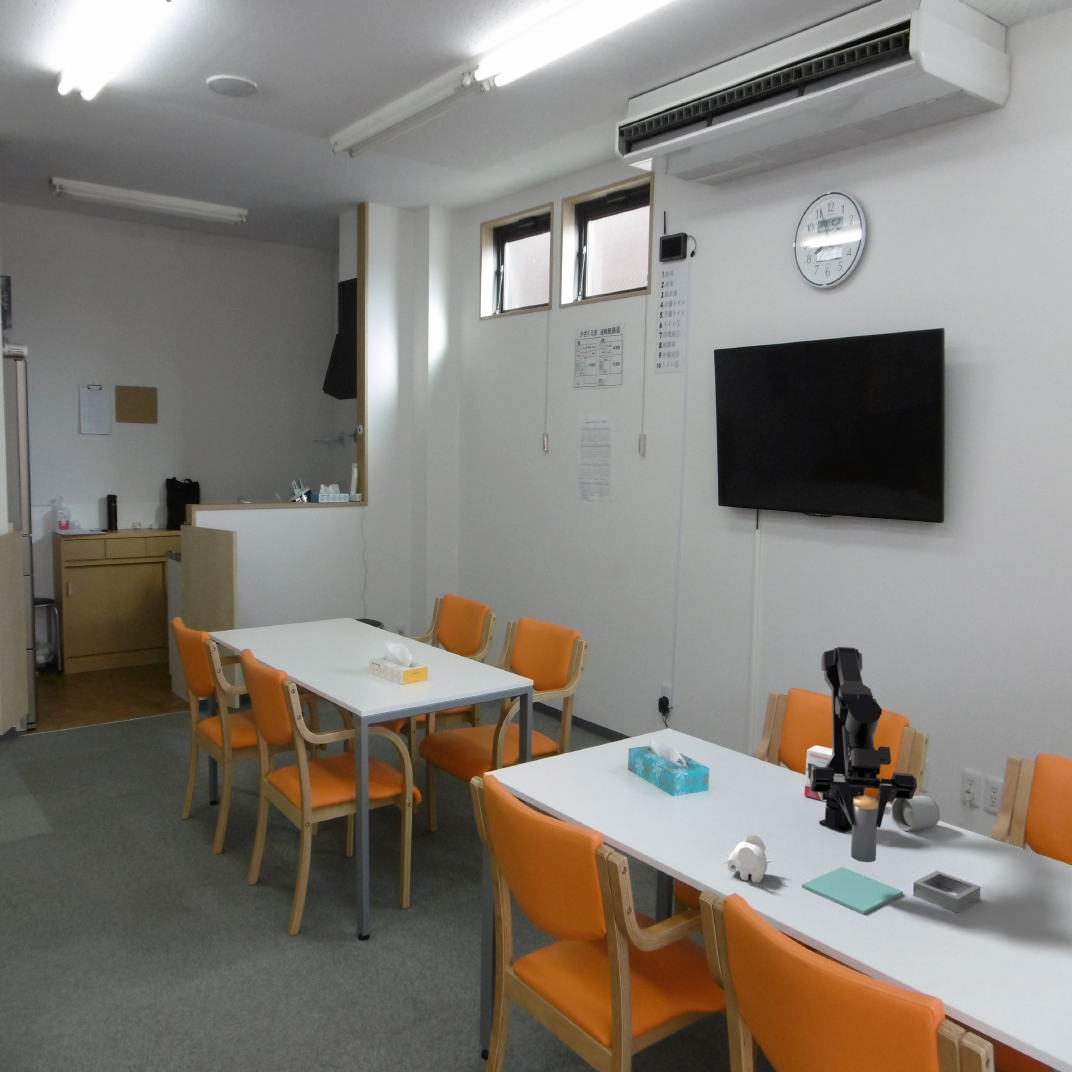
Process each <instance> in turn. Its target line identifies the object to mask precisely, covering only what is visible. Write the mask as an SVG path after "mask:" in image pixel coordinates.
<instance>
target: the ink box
mask: <svg viewBox="0 0 1072 1072" xmlns="http://www.w3.org/2000/svg"><path fill="white" fill-rule="evenodd" d="M831 756H832V748H829V747H826V746H822V745H821V746H820V745H814V746H812V747H809V748H808V749H807V750H806V761H805V763H806V765H805V779H804V793H803V794H804V796H805V797H806V798H811V799H815V800H820V801H822V802H826V800H822V797H821V794H820V792H812V791H811V790H810V778H811V773H812V769H813V768H814V767H825V766H826V764H827V763H828V761H829V759H830V758H831Z"/></svg>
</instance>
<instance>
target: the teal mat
mask: <svg viewBox="0 0 1072 1072" xmlns="http://www.w3.org/2000/svg"><path fill="white" fill-rule="evenodd" d="M801 888H802V889H804V890H807V891H809V892H811V893H813V894H816V895H818V896H821V897H822V898H825V899H828V900H830V901H833V902H834V903H837V904H839V905H841V906H843V907H845V908H848V909H850V910H852V911H855V912H857V913H859V914H861V915H865V914H867V913H869V912H872V911H874V910H875V909H877V908H880V907H881V906H882V905H885V904H887V903H889V902H890V901H893V900H895V899H897V898H899V897H900V896H903V894H904V890H901V889H898V888H896V887H893V886H891V885H889V884H885V883H884V882H881V881H878V880H876V879H874V878H870V877H869V876H866V875H863V874H861V873H859V872H856V871H854V870H851V869H849V868H846V867H844V866H841V867H838V868H836V869H834V870H831V871H830V872H827V873H825V874H822V875H820V876H818V877H815V878H813V879H811V880H808V881H807V882H804V883H802V885H801Z"/></svg>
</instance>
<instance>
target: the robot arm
mask: <svg viewBox="0 0 1072 1072" xmlns="http://www.w3.org/2000/svg"><path fill="white" fill-rule="evenodd" d="M820 664H821V665H820V666H821V671H823V672H824V673H823V676H824V680H825V682H826V684H827V686H828V687H829V688H830V691H831V749H832V756H831V758H830V759H829V761H828V763H827V764H826V766H825V767H814V768H813V769H812V773H811V778H810V790H811V791H812V792H820V794H821V797H822V800H826V801H825V807H824V808H825V809H824V810H825V811H824V816H825V817H824V819H821V820H819V823H818V824H819V825H821V826H825V827H827V828H830V829H833V830H836V831H838V832H841V833H847V832H849V831H852V826H853V825H854V816H853V798H854V797H855V796H865V790H866V789H876V790H878V794H877V797H876V799H877V800H878V822H877V829H880V828H881V826H882V822H883V819H884V815H885V810H886V806H887V804H888V803H893V801H894V800H895V799H907V800H909V799H912V798H913V796H915V793H916V790H917V788H918V783H917V778H916V777H915V776H914V775H913V774H912V773H904V772H902V773H901V772H893V773H892V776H891V778H881V777H880V778H878V776H879V775H881V774H880V773H881V767H882V765H883V766H889V765H890V764H891V762H892V756H891V748H890V746H879V747H878V748H877V749H876V747H875V740H874V735H875V734H876V732H877V730H878V729H877V728H878V726H879V721H880V720H881V719H880V718H881V716H882V714H883V709H882V707H881V706H880V705H879V703H878V702H877V699H876V698H874V696H873V693H872V689H871V688H870V687H868V686H866V685H865V684H864V683H863V679H862V673H861V672H862V671H863V653H861V652H859V649H858V648H855V647H848V646H847V647H844V646H837V647H834V648H833V649H830V650H827V651H826V650H825V651H824V652H822V655H821V662H820ZM822 800H821V801H822Z"/></svg>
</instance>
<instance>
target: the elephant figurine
mask: <svg viewBox="0 0 1072 1072" xmlns="http://www.w3.org/2000/svg"><path fill="white" fill-rule="evenodd" d="M765 853H766V845H765V843H764V842H763V840H762V839H761V837H759V836H758V835H757V834H751V835H747V837H746V838H745V839H744V841H740V842H738V844H737V846H736V847H735V848H734V849H733V851H732V852H731V853H730V854H728V855H726V856H725V858H728V859H727V860H725V861H723V862H721V865H725V864H726V866H727V869H728V871H729V872H735V871H736V869H737V870H738V872H739V875H740V879H741V880H743V881H747V880H749V877H750V876H749V875H751V882H753V883H754V884H755V883H760V882H761V881H762V879H763V878H764V876H765V873H766V872H767V870H768V863H772V862H773V860H772V859H771V860H770V859H768V858H767V856H766V854H765Z"/></svg>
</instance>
